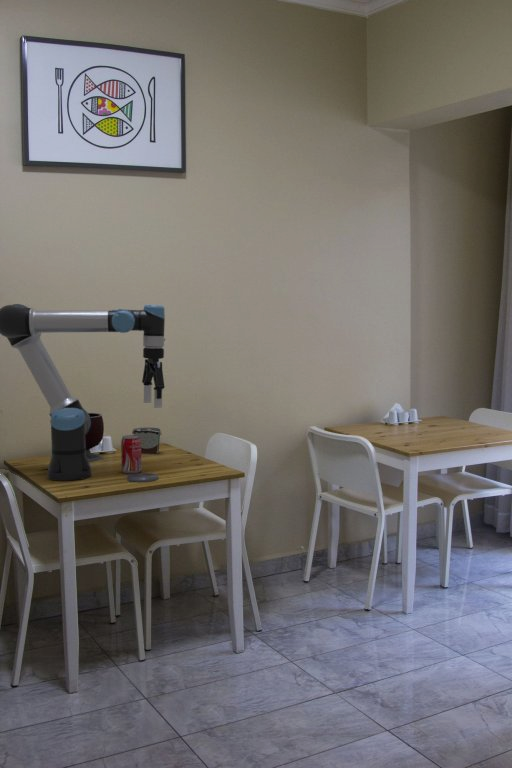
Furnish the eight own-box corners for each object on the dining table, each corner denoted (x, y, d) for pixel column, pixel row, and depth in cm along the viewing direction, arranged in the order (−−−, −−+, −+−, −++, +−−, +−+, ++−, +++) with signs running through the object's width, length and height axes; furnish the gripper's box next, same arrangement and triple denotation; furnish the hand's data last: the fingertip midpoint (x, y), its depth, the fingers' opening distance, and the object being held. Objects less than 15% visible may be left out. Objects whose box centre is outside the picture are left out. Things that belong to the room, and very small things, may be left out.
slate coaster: (130, 483, 289) (130, 481, 289) (123, 476, 299) (123, 474, 299) (162, 480, 293) (161, 478, 293) (154, 474, 303) (154, 472, 303)
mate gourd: (69, 455, 338) (67, 405, 336) (104, 454, 341) (103, 405, 339) (66, 463, 323) (65, 411, 321) (104, 462, 325) (102, 410, 323)
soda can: (143, 470, 310) (143, 434, 309) (139, 474, 303) (138, 438, 302) (124, 469, 311) (123, 434, 310) (119, 474, 304) (118, 438, 302)
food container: (166, 452, 345) (166, 427, 344) (160, 455, 339) (160, 430, 338) (139, 450, 349) (138, 426, 348) (132, 453, 343) (132, 428, 342)
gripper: (174, 349, 301) (172, 409, 303) (153, 345, 324) (152, 400, 326) (153, 349, 298) (152, 409, 300) (134, 345, 321) (133, 401, 323)
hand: (152, 405), depth 313 cm, fingers open, 13 cm apart
